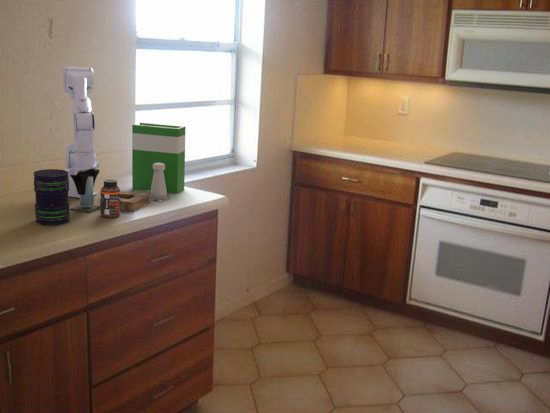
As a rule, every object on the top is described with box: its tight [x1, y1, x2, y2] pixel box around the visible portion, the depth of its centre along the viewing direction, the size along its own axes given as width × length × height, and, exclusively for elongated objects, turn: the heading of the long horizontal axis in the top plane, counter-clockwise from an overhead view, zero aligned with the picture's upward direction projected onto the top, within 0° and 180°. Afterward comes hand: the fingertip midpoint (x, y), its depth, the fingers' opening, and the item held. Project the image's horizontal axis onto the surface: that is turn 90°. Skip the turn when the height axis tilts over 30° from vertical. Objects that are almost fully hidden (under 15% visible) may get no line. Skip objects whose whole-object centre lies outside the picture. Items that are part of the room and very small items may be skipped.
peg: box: [79, 176, 95, 206], centre depth 198 cm, size 4×4×9 cm
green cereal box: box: [131, 122, 186, 195], centre depth 228 cm, size 18×7×24 cm, turn 78°
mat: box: [70, 204, 101, 214], centre depth 200 cm, size 7×7×1 cm
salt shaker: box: [149, 163, 168, 202], centre depth 215 cm, size 6×6×13 cm
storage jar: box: [33, 168, 71, 227], centre depth 183 cm, size 10×10×15 cm
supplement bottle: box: [100, 179, 121, 219], centre depth 193 cm, size 6×6×11 cm
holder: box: [99, 190, 151, 213], centre depth 207 cm, size 12×12×3 cm
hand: (85, 192), depth 198 cm, fingers closed on peg, 4 cm apart
